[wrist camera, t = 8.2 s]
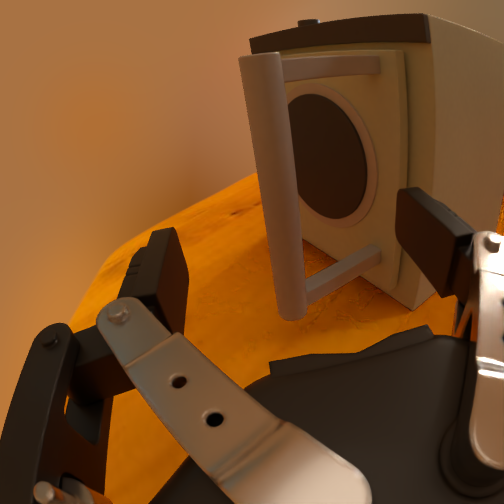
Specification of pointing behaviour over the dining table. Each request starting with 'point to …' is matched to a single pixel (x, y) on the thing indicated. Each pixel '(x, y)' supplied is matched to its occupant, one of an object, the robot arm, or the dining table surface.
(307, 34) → the washer
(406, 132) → the washer door
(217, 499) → the robot arm
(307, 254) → the dining table surface
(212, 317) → the dining table surface
